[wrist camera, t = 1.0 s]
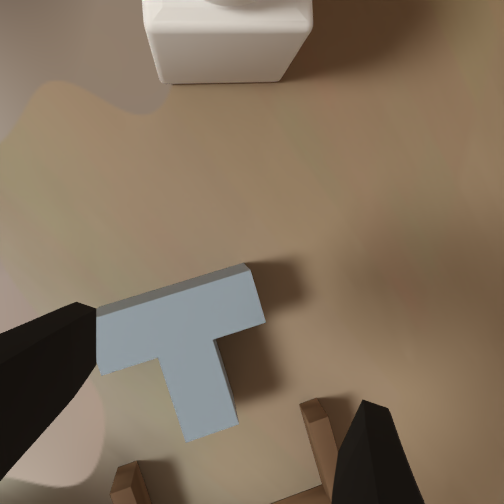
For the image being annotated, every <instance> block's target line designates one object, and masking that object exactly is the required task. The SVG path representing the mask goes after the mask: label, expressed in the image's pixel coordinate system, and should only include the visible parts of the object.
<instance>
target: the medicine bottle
mask: <svg viewBox="0 0 504 504" xmlns="http://www.w3.org/2000/svg"><path fill="white" fill-rule="evenodd" d="M142 6H143V18H144V26H145V30H146V34H147V37H148V41H149V44H150V48H151V51H152V55H153V59H154V62H155V66H156V69H157V73H158V76H159V79H160V81H161V82H162V83H164V84H191V83H240V82H277V81H279V80H280V79H281V78H282V76H283V75H284V73H285V72H286V70H287V68H288V67H289V65H290V64H291V62H292V61H293V59H294V57H295V56H296V54H297V53H298V51H299V49H300V48H301V46H302V45H303V43H304V41H305V40H306V38H307V37H308V35H309V34H310V32H311V30H312V27H313V9H312V0H142Z"/></svg>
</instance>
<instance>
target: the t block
mask: <svg viewBox="0 0 504 504" xmlns="http://www.w3.org/2000/svg"><path fill="white" fill-rule="evenodd" d="M263 323H266V321H265V318H264V314H263V311H262V308H261V304H260V301H259V297H258V294H257V290H256V287H255V284H254V280H253V277H252V273H251V270H250V269H249V268H248V267H247V266H246V265H245V264H244V263H241V264H238V265H235V266H231V267H228V268H225V269H222V270H218V271H215V272H212V273H208V274H205V275H202V276H199V277H195V278H192V279H189V280H186V281H182V282H179V283H176V284H173V285H169V286H166V287H163V288H159V289H156V290H153V291H150V292H146V293H143V294H140V295H137V296H133V297H130V298H127V299H123V300H120V301H117V302H114V303H110V304H107V305H104V306H101V307H99V308H97V309H96V361H97V364H98V367H99V370H100V373H101V376H102V375H105V374H108V373H111V372H115V371H118V370H121V369H124V368H127V367H130V366H133V365H136V364H139V363H142V362H145V361H149V360H152V359H155V358H158V359H159V362H160V365H161V368H162V371H163V375H164V378H165V381H166V384H167V387H168V390H169V393H170V396H171V399H172V402H173V405H174V408H175V411H176V414H177V417H178V420H179V423H180V426H181V429H182V432H183V435H184V438H185V441H186V442H189V441H192V440H195V439H198V438H201V437H204V436H207V435H209V434H212V433H215V432H218V431H221V430H224V429H227V428H229V427H232V426H235V425H238V424H239V422H238V417H237V412H236V407H235V402H234V396H233V393H232V390H231V387H230V383H229V380H228V377H227V374H226V371H225V367H224V364H223V361H222V358H221V354H220V351H219V348H218V345H217V341H216V339H217V338H220V337H223V336H226V335H229V334H232V333H235V332H238V331H241V330H244V329H247V328H251V327H254V326H257V325H260V324H263Z"/></svg>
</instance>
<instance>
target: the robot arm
mask: <svg viewBox="0 0 504 504" xmlns="http://www.w3.org/2000/svg"><path fill="white" fill-rule="evenodd" d="M95 366H96V308H93V307H90V306H87V305H84V304H81V303H78V302H75V303H72V304H69V305H67V306H64V307H62V308H60V309H57V310H55V311H53V312H50V313H48V314H46V315H43V316H41V317H39V318H36V319H34V320H32V321H29V322H27V323H25V324H23V325H20V326H18V327H15V328H13V329H10V330H8V331H6V332H3V333H1V334H0V481H1V480H2V479H3V477H4V476H5V475H6V474H7V472H8V471H9V470H10V469H11V468H12V467H13V466H14V464H15V463H16V462H17V461H18V460H19V459H20V458H21V457H22V455H23V454H24V453H25V452H26V451H27V450H28V449H29V448H30V447H31V445H32V444H33V443H34V442H35V441H36V440H37V439H38V438H39V436H40V435H41V434H42V433H43V432H44V431H45V430H46V428H47V427H48V426H49V425H50V424H51V423H52V422H53V421H54V419H55V418H56V417H57V416H58V415H59V414H60V413H61V412H62V410H63V409H64V408H65V407H66V406H67V405H68V403H69V402H70V401H71V400H72V399H73V398H74V396H75V395H76V394H77V392H78V391H79V389H80V388H81V387H82V385H83V384H84V382H85V381H86V379H87V378H88V376H89V375H90V373H91V372H92V370H93V369H94V367H95ZM331 504H425V503H424V500H423V498H422V495H421V493H420V491H419V488H418V486H417V483H416V481H415V479H414V476H413V474H412V471H411V468H410V466H409V463H408V461H407V458H406V455H405V453H404V450H403V447H402V445H401V442H400V439H399V436H398V433H397V430H396V428H395V425H394V422H393V419H392V416H391V413H390V411H389V409H388V408H386V407H383V406H380V405H377V404H374V403H371V402H368V401H365V400H362V402H361V404H360V406H359V408H358V411H357V413H356V415H355V417H354V419H353V421H352V424H351V426H350V428H349V430H348V432H347V434H346V437H345V439H344V441H343V443H342V445H341V447H340V449H339V452H338V456H337V463H336V469H335V476H334V483H333V490H332V501H331Z"/></svg>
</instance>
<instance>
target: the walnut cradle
mask: <svg viewBox="0 0 504 504" xmlns="http://www.w3.org/2000/svg"><path fill="white" fill-rule="evenodd" d="M299 405H300V409H301V412H302V416H303V419H304V423H305V426H306V430H307V433H308V437H309V440H310V444H311V447H312V451H313V454H314V458H315V461H316V464H317V468H318V471H319V475H320V478H321V482H322V485H320V486H318V487H315V488H312V489H310V490H307V491H304V492H301V493H299V494H296V495H293V496H291V497H288V498H285V499H283V500H280V501H277V502H275V503H272V504H331V501H332V490H333V483H334V476H335V469H336V463H337V456H338V450H337V446H336V443H335V439H334V436H333V432H332V428H331V425H330V421H329V418H328V416H327V414H326V412H325V411H324V409H323V408H322V406H321V405H320V403H319V402H318V400H317V398H316V399H313V400H310V401H307V402H304V403H301V404H299ZM110 497H111V499H112V502H113V504H152V502H151V499H150V497H149V494H148V491H147V488H146V485H145V483H144V480H143V477H142V474H141V471H140V468H139V466H138V463H137V461H135V462H132V463H129V464H127V465H124V466H121V467H118V469H117V472H116V475H115V479H114V482H113V485H112V488H111V491H110Z"/></svg>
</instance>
